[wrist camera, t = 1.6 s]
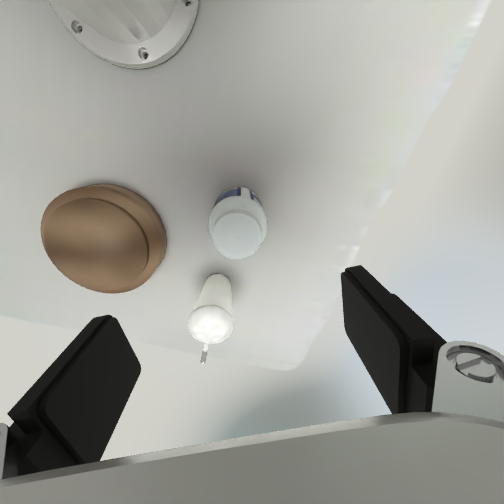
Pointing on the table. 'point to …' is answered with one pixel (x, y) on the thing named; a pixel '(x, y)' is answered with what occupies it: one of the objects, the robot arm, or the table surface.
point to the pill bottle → (237, 223)
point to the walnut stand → (103, 237)
